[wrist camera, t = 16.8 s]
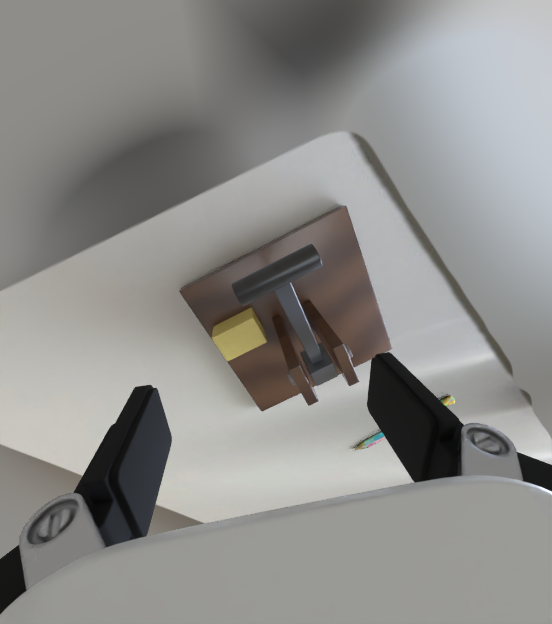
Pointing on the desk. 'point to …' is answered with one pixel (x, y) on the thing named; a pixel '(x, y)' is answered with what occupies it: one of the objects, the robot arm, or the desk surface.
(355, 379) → the slicer
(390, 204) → the desk surface
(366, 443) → the pencil
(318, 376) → the lever
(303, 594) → the robot arm
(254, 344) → the butter
